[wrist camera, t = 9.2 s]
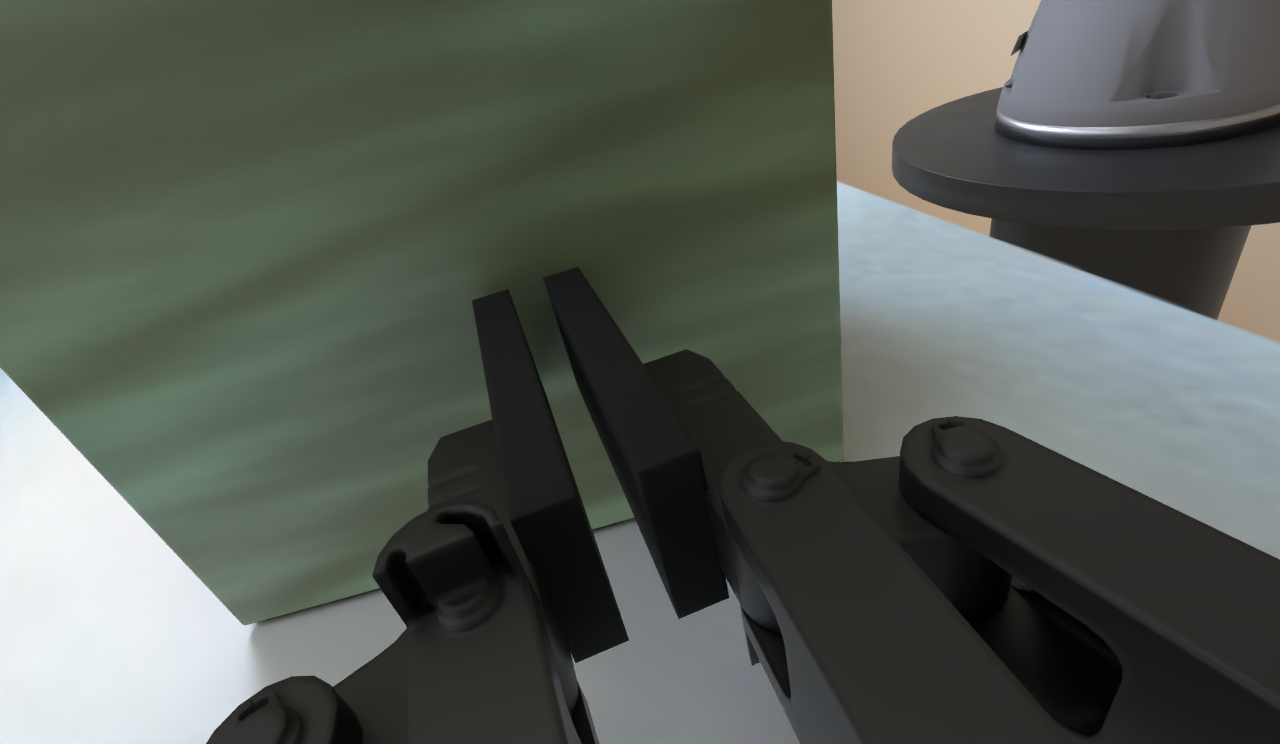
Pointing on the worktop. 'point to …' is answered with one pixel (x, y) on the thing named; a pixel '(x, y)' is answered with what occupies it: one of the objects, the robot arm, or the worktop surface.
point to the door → (394, 243)
